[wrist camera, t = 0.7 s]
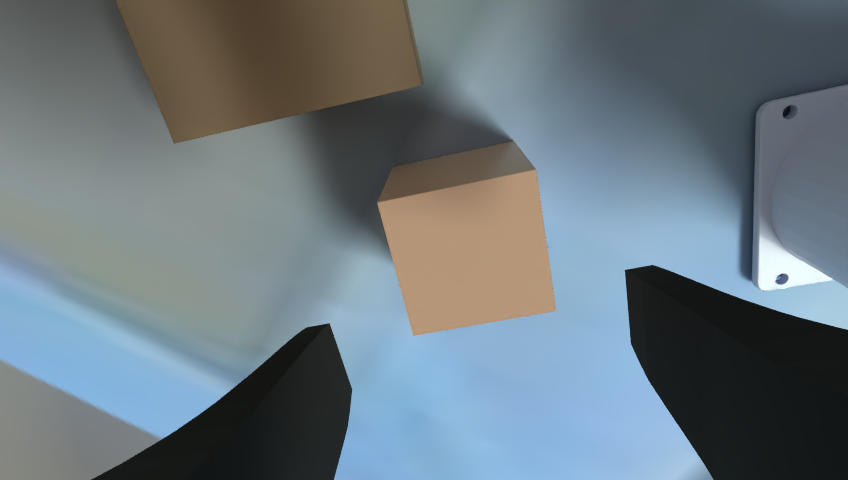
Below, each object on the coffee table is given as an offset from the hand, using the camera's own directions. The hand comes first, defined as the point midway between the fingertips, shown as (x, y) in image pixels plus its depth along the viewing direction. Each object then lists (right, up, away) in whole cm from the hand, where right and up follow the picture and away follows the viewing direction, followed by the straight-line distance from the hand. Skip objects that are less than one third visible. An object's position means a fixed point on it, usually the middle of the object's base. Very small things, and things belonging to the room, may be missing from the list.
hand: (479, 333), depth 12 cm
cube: (0, +4, +9) cm, 9 cm away
